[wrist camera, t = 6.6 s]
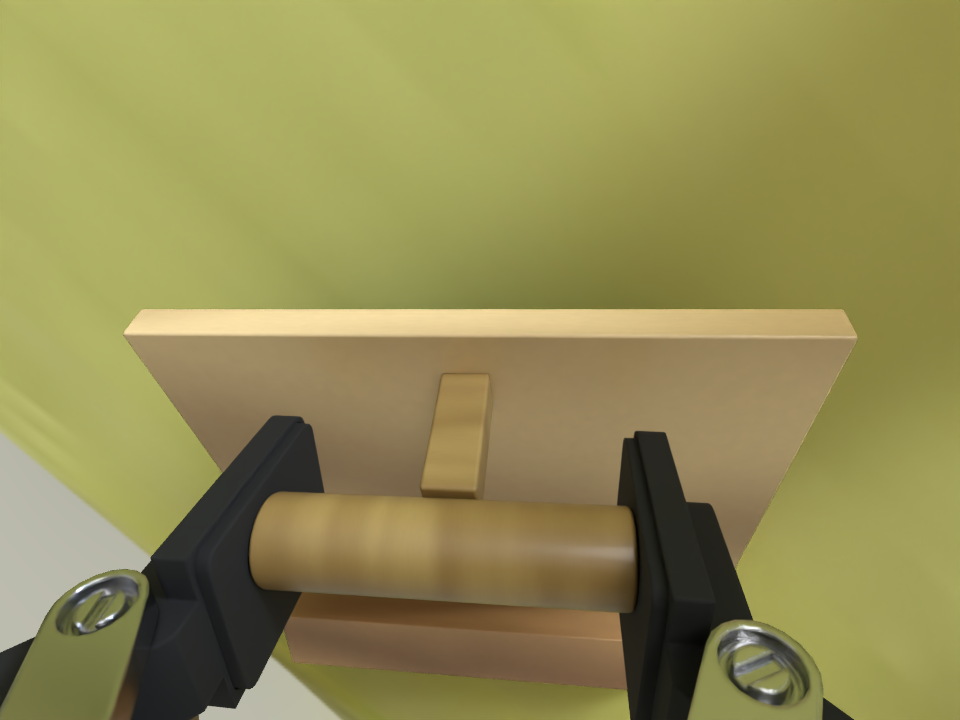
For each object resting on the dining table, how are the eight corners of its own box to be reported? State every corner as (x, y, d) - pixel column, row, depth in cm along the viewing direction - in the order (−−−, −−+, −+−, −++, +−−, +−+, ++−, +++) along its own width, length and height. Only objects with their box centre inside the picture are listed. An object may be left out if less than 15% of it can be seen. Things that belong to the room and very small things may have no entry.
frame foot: (300, 575, 21) (279, 616, 20) (721, 601, 19) (735, 649, 18) (311, 621, 22) (292, 663, 21) (711, 649, 20) (724, 698, 19)
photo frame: (141, 306, 12) (-31, 527, 9) (844, 305, 10) (991, 584, 7) (303, 552, 20) (249, 718, 17) (712, 575, 19) (749, 766, 15)
